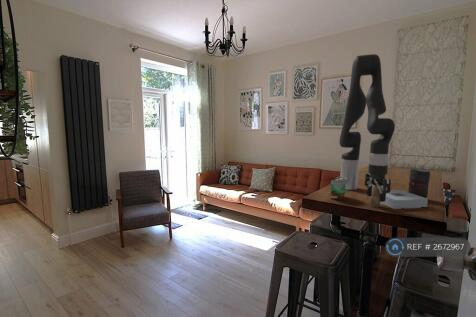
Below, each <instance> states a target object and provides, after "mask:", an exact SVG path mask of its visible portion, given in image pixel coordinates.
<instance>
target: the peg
mask: <svg viewBox="0 0 476 317" xmlns="http://www.w3.org/2000/svg"><path fill="white" fill-rule="evenodd" d="M379 199H380V191H379V189H378V188H377V186H375V185H372V197H371V196H370V200H371V201H370V207H371V208H374V207H375V208H376V209H379V208H380V207H381V203H380V201H379ZM375 208H374V209H375Z"/></svg>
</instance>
